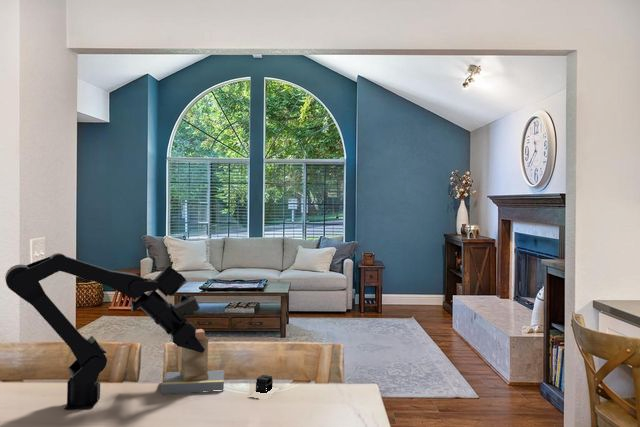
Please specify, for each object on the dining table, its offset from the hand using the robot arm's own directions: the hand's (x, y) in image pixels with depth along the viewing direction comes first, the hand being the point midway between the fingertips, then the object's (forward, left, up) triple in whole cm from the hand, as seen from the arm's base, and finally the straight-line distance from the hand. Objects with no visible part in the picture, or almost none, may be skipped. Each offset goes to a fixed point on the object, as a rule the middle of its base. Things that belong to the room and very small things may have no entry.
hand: (200, 347), depth 134 cm
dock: (-1, 0, -11) cm, 11 cm away
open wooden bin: (-1, 0, -8) cm, 8 cm away
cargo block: (-1, 0, +2) cm, 2 cm away
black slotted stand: (+17, -7, -11) cm, 22 cm away
